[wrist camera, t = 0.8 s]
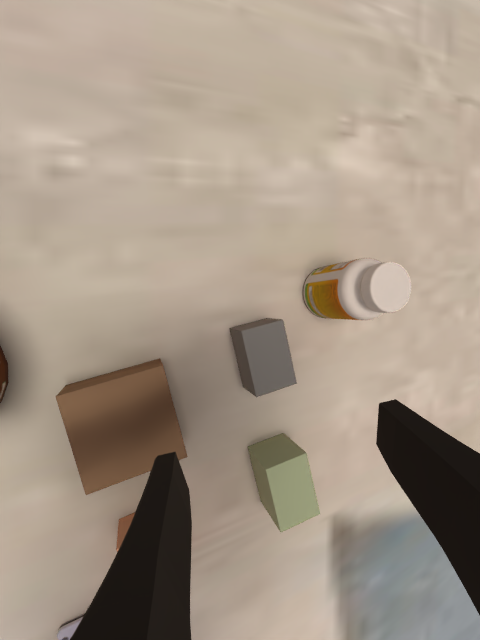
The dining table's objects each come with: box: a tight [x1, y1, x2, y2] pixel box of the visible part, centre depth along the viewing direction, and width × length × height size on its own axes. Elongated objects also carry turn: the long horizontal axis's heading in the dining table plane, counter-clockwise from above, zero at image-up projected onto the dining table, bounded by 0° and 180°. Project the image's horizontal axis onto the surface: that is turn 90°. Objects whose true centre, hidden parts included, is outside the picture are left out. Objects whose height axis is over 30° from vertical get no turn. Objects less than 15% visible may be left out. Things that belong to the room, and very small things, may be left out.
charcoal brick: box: [230, 318, 297, 397], centre depth 31 cm, size 6×4×4 cm, turn 13°
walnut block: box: [56, 359, 187, 495], centre depth 28 cm, size 8×8×4 cm
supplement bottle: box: [303, 258, 411, 320], centre depth 30 cm, size 5×5×10 cm
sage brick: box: [248, 433, 320, 532], centre depth 32 cm, size 6×4×5 cm, turn 13°
